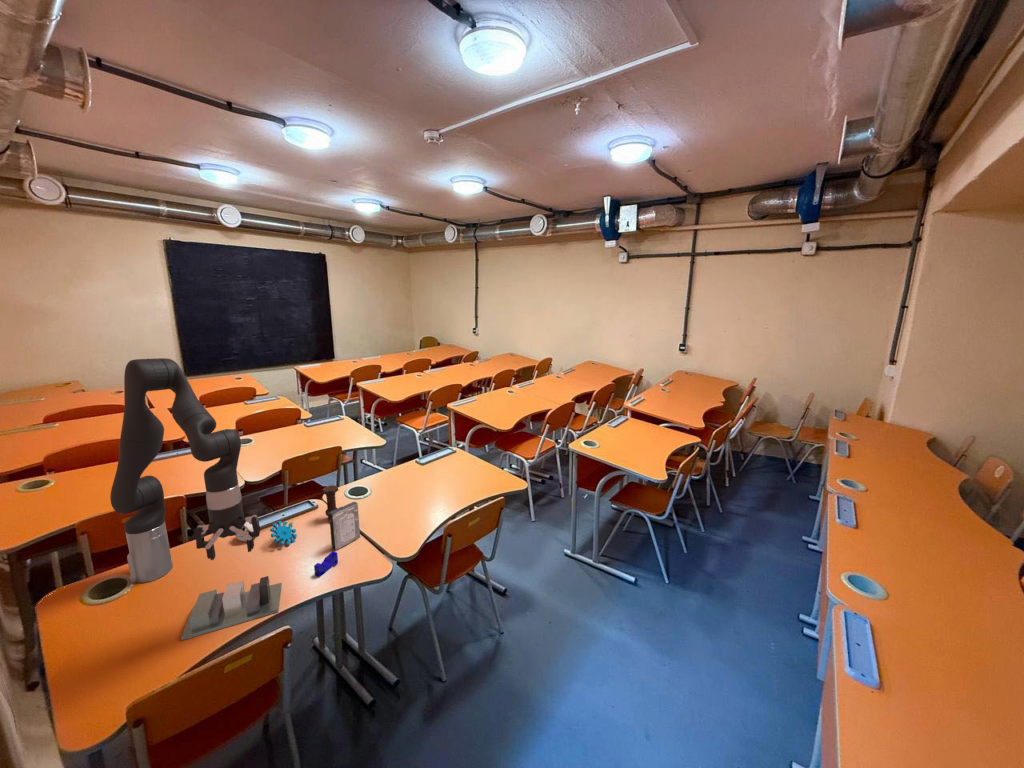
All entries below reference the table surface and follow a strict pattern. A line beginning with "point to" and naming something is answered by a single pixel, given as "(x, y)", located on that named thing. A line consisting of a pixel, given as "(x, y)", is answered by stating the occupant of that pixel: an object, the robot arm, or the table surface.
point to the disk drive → (344, 525)
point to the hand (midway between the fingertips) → (232, 554)
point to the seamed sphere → (248, 528)
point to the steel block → (234, 598)
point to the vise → (212, 616)
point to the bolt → (330, 498)
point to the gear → (283, 532)
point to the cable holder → (326, 564)
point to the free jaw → (258, 595)
